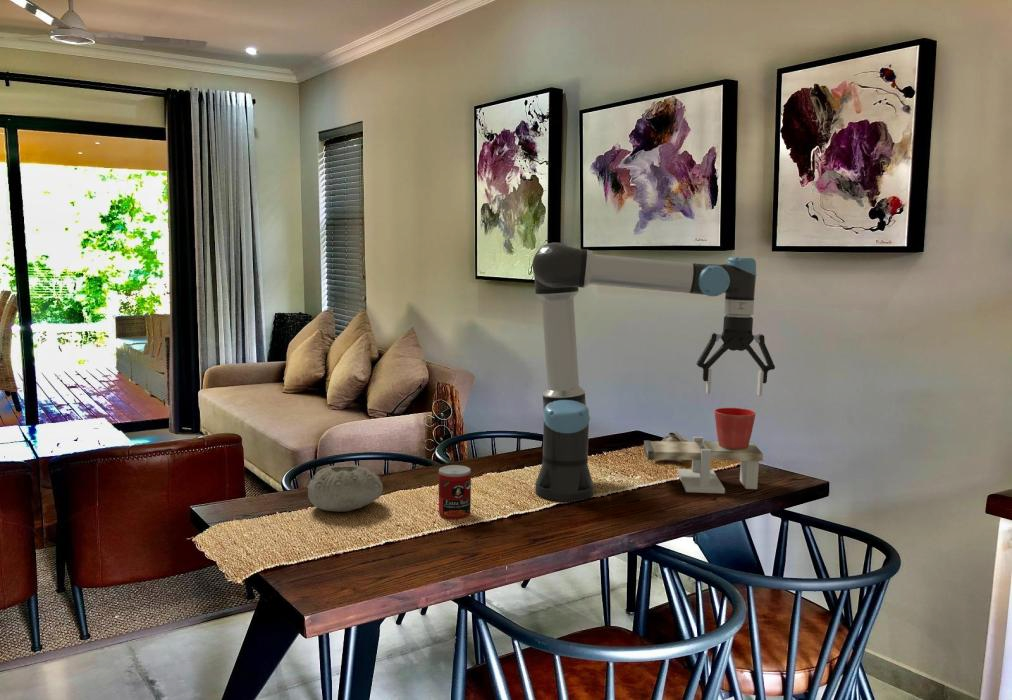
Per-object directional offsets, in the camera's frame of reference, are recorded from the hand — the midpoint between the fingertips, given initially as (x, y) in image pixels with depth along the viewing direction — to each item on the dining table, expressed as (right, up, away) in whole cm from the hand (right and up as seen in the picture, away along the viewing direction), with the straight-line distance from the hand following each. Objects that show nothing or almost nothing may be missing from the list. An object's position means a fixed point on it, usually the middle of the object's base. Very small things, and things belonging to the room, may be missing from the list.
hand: (733, 394), depth 219 cm
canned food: (-74, -27, -25) cm, 82 cm away
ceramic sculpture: (-11, -22, +28) cm, 37 cm away
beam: (-8, -17, +3) cm, 19 cm away
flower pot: (0, -14, +2) cm, 15 cm away
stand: (-3, -25, +4) cm, 25 cm away
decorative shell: (-100, -27, -21) cm, 106 cm away
